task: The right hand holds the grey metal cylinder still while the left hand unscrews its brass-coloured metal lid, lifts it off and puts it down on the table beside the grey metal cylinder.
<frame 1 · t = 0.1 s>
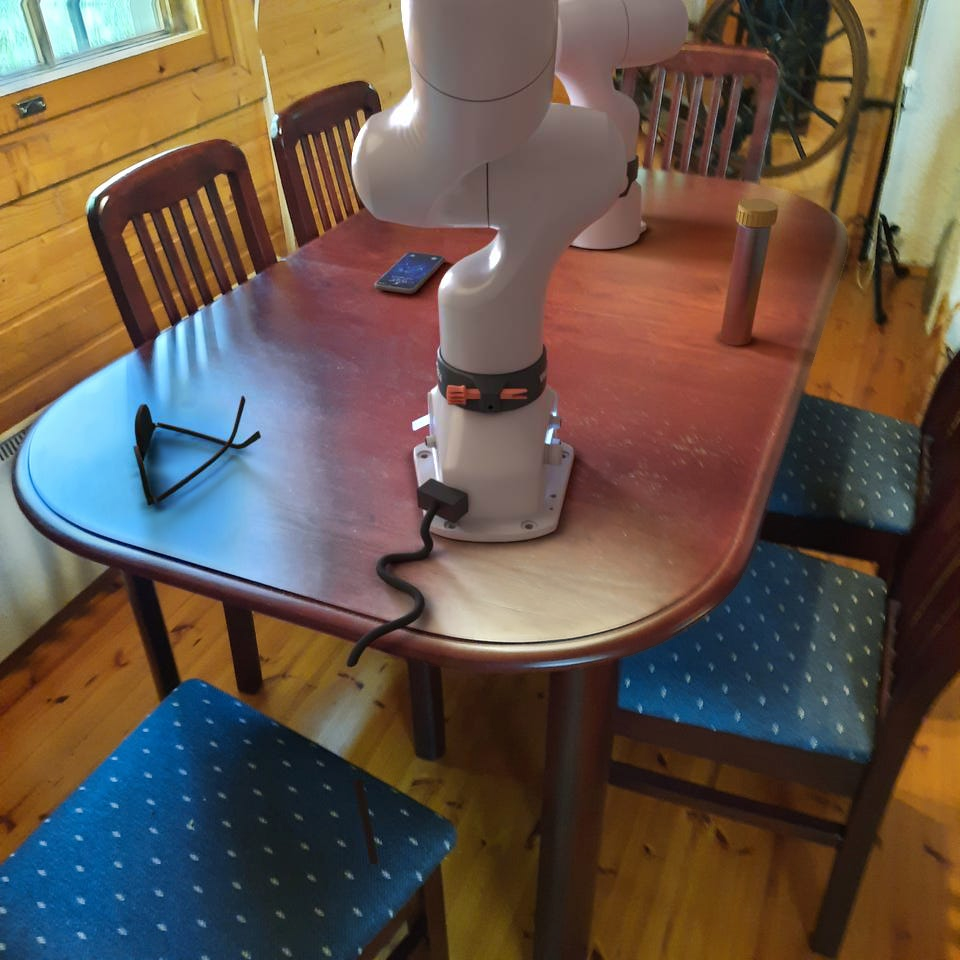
grey metal cylinder: (735, 339, 123), on the table
smartphone: (410, 275, 144), on the table
sunglasses: (202, 458, 102), on the table
lid: (757, 207, 112), point 19 cm above the table, screwed on, not yet turned
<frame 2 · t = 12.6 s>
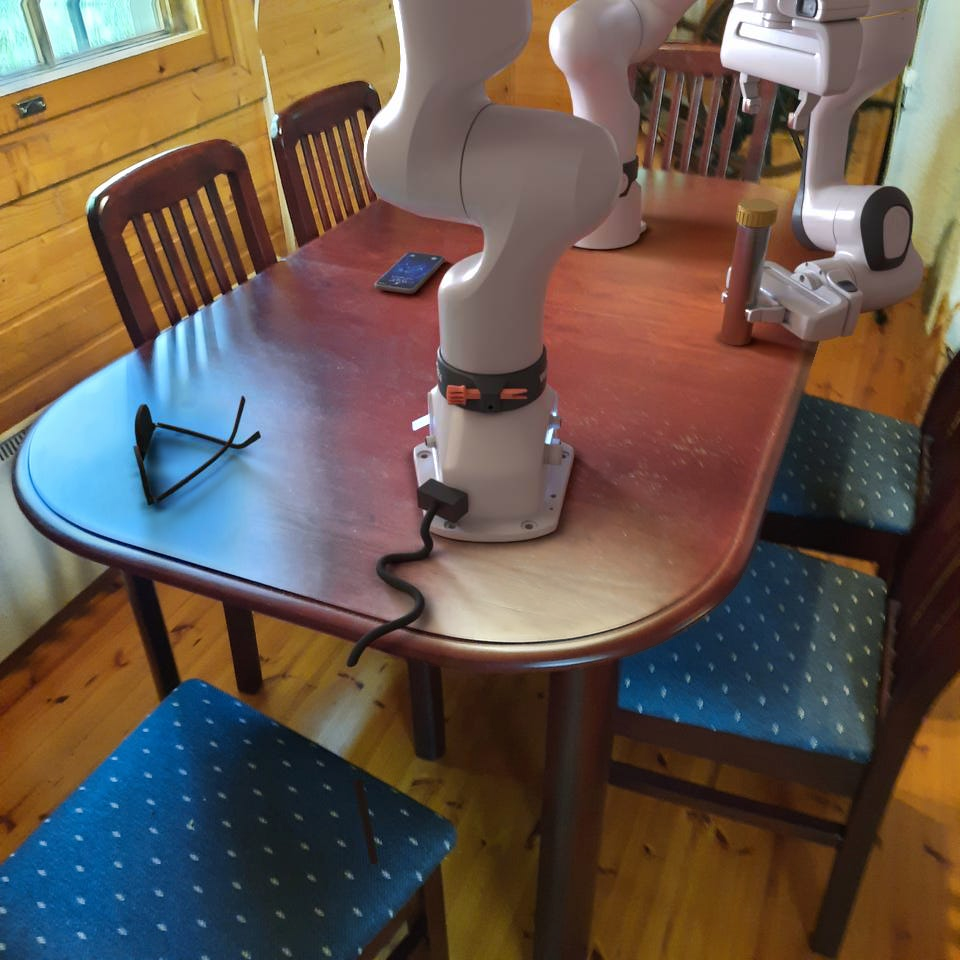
left hand: (772, 120, 105), 30 cm above the table, tool pointing down, fingers open, 7 cm apart
right hand: (735, 307, 120), 5 cm above the table, tool horizontal, fingers closed on grey metal cylinder, 4 cm apart
grey metal cylinder: (735, 339, 123), on the table, touching right hand
everything else where it was.
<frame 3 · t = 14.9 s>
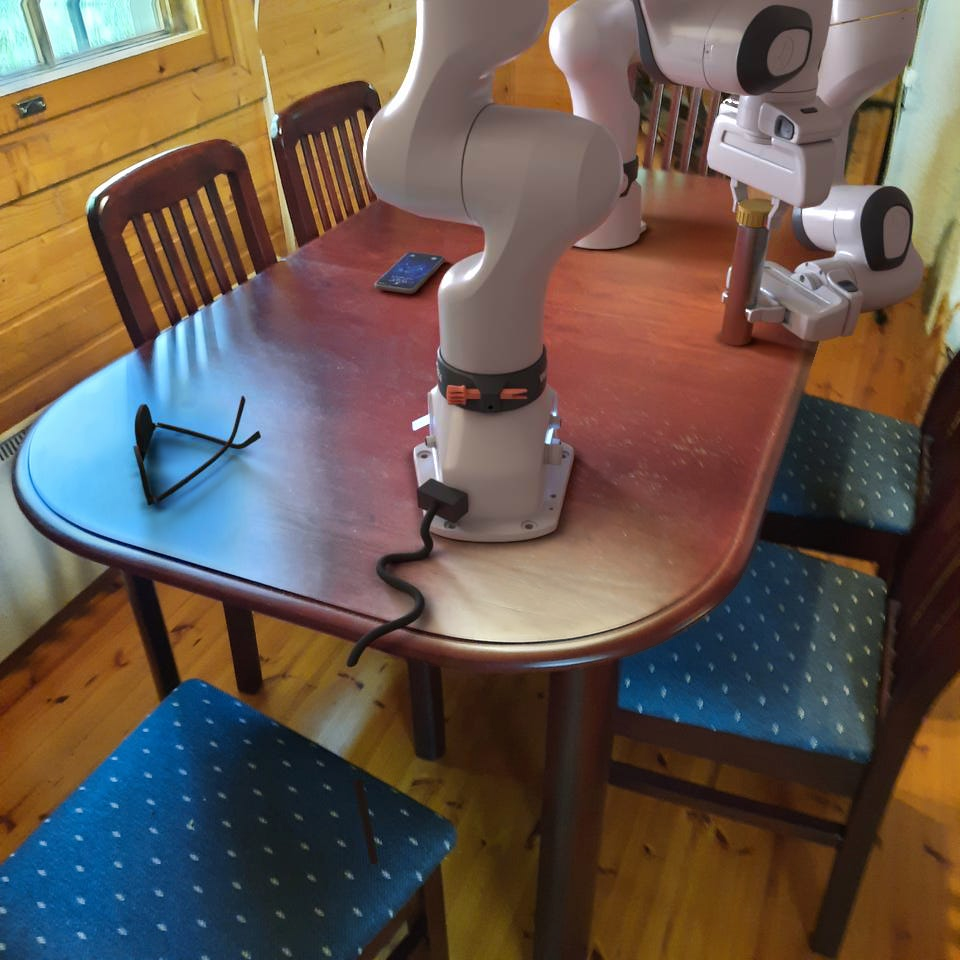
left hand: (755, 221, 113), 17 cm above the table, tool pointing down, fingers closed on lid, 5 cm apart
right hand: (735, 307, 120), 5 cm above the table, tool horizontal, fingers closed on grey metal cylinder, 4 cm apart
grey metal cylinder: (735, 339, 123), on the table, touching right hand
lid: (758, 207, 112), point 19 cm above the table, screwed on, not yet turned, touching left hand
everything else where it was.
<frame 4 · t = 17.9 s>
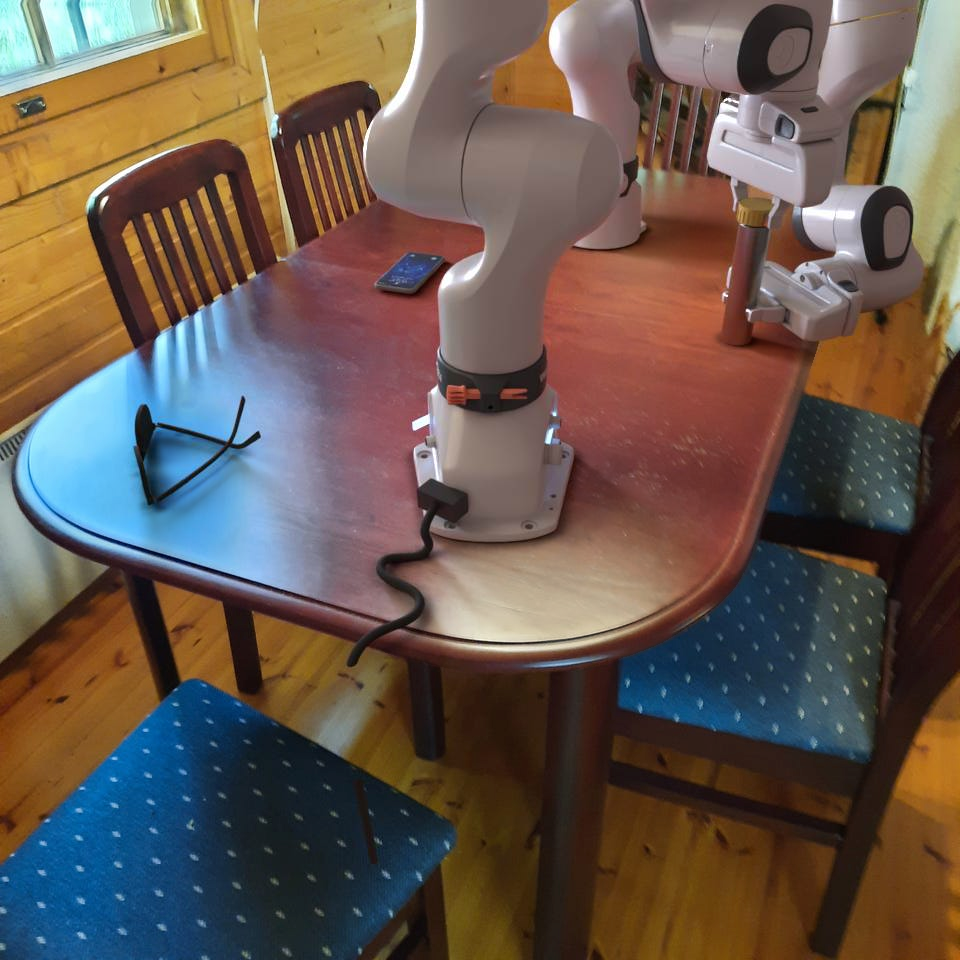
left hand: (755, 220, 113), 17 cm above the table, tool pointing down, fingers closed on lid, 5 cm apart
right hand: (736, 307, 120), 5 cm above the table, tool horizontal, fingers closed on grey metal cylinder, 4 cm apart
grey metal cylinder: (735, 339, 123), on the table, touching right hand
lid: (758, 206, 112), point 19 cm above the table, turned 76° so far, risen 0.1 cm, still on its thread, touching left hand
everything else where it was.
when the left hand's fingers open (2 cm above the table, at t = 36.0 s): lid drops 2 cm, point 2 cm above the table.
when the right hand's fingers open (5 cm above the table, at t = 37.0 s): grey metal cylinder stays where it is, on the table.
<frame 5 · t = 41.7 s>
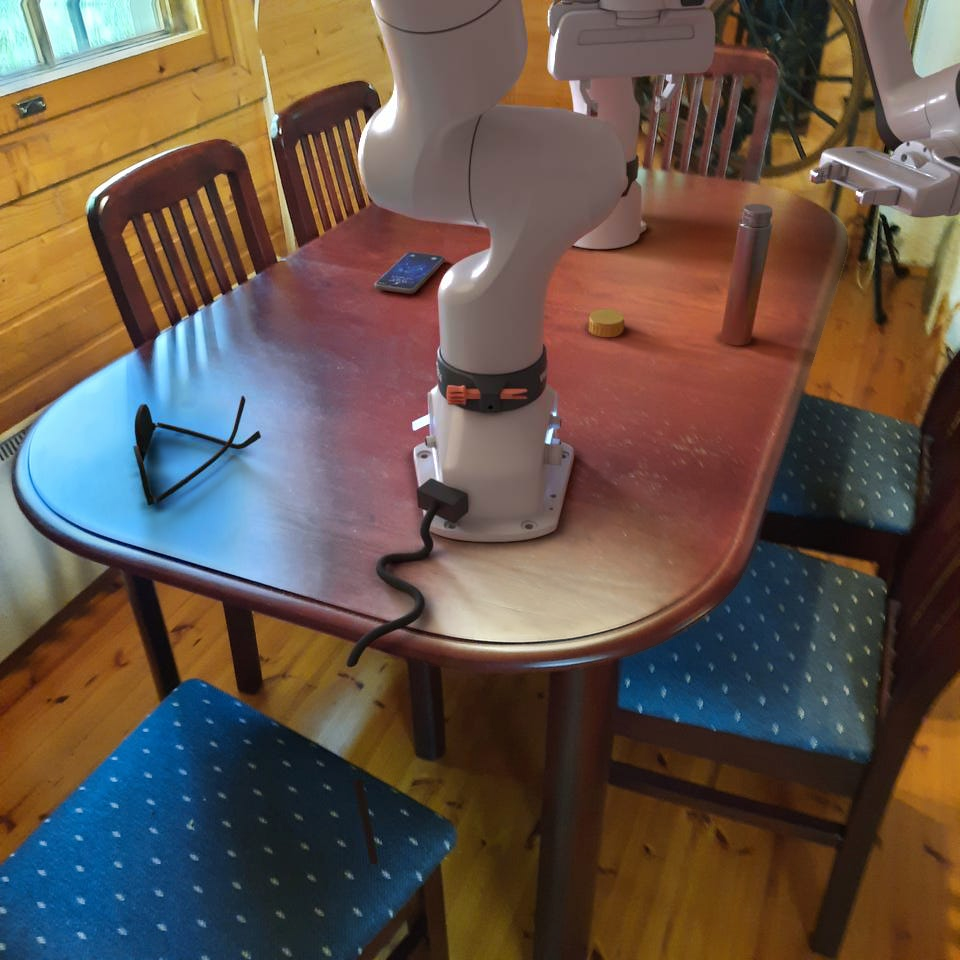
left hand: (626, 114, 108), 30 cm above the table, tool pointing down, fingers open, 8 cm apart
right hand: (835, 186, 114), 20 cm above the table, tool horizontal, fingers open, 8 cm apart
grey metal cylinder: (735, 339, 123), on the table
lid: (606, 318, 125), point 2 cm above the table, off its thread
everything else where it was.
at the end: lid came off its thread; lid point 1.8 cm above the table; the left hand is holding nothing; the right hand is holding nothing; grey metal cylinder tilted 0°; grey metal cylinder moved 0.1 cm from its start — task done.
